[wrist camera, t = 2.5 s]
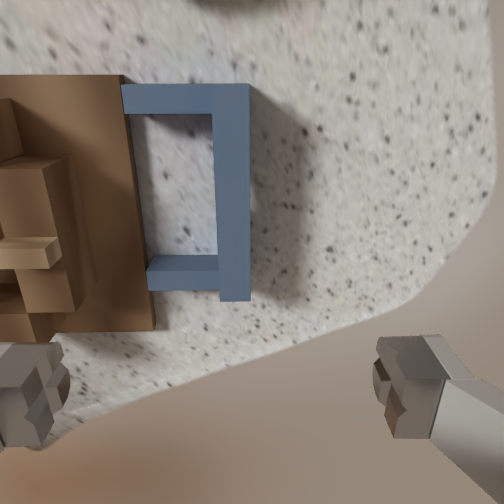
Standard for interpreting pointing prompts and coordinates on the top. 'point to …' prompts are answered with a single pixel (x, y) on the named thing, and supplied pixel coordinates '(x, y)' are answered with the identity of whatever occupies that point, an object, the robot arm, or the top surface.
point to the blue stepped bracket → (226, 185)
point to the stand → (69, 210)
